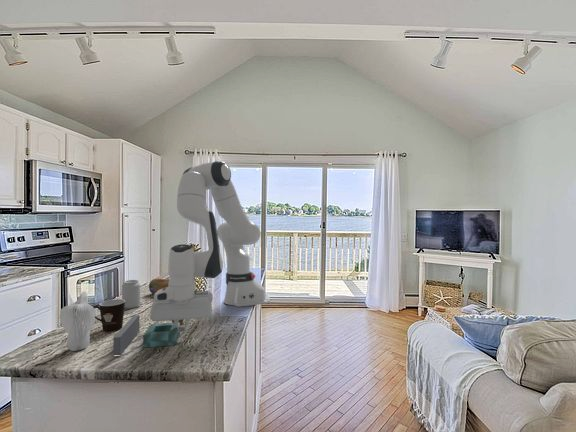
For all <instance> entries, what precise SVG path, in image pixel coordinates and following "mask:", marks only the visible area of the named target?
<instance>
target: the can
mask: <svg viewBox="0 0 576 432" xmlns="http://www.w3.org/2000/svg"><path fill="white" fill-rule="evenodd" d="M121 299H123V300H125V307H124V310H126V309H127V310H130V309H136V308H138V307H139V306H140V305H141V283H139V280H138V279H128V280H125V281H123V284H122V285H121Z"/></svg>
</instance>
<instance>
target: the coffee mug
mask: <svg viewBox="0 0 576 432" xmlns="http://www.w3.org/2000/svg"><path fill="white" fill-rule="evenodd" d="M93 307H94V309H98V310H99V313H100V318H99V317H97V315H96V316H95V320H97V321H99V322H100V323H101V327H102V331H103V332H104V333H112V332H116V331H120V330H121V329H122V327H123V326H124V325H123V323H124V314H125V308H124V307H125V300H123V299H122V298H114V299H108V300H104V301H100V302H99V304H98V305H95V306H93Z"/></svg>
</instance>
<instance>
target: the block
mask: <svg viewBox="0 0 576 432" xmlns="http://www.w3.org/2000/svg"><path fill="white" fill-rule="evenodd" d="M178 323H179V324H180V322H178ZM180 335H181V332H178V330H177V327H176V325H175V324H174V323H172V322H163V323H150V325H149V326H148V327H147V329H146V330H145V332H144V333H143V335H142V345H143V346H142V347H143V348H152V347H153V348H154V347H166V346H167V347H168V346H169V347H170V346H176V344H177V341H178V340H179V338H180Z"/></svg>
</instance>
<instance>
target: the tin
mask: <svg viewBox="0 0 576 432" xmlns="http://www.w3.org/2000/svg"><path fill="white" fill-rule="evenodd" d="M168 283H169V278H154V279H152V280H150V282H149V285H148V289H149V292H150V293H151V294H152V295H153V296H154V295H155V293H156V292H157V291H158V290H160V289H163V288H166V287H168Z"/></svg>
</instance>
